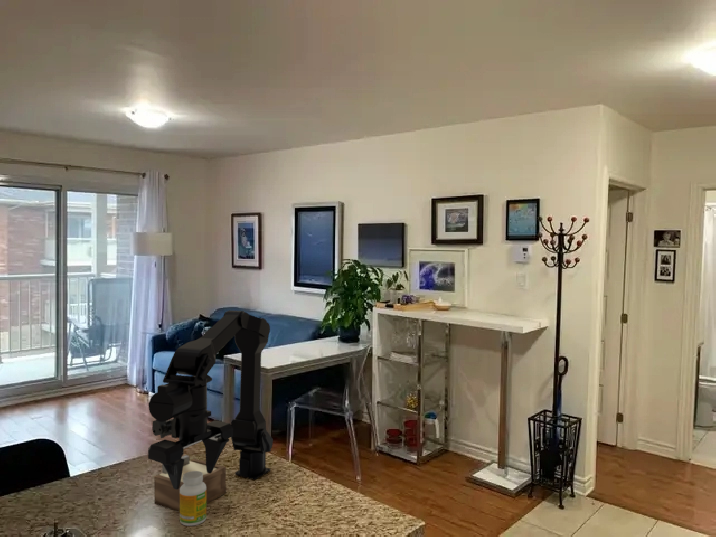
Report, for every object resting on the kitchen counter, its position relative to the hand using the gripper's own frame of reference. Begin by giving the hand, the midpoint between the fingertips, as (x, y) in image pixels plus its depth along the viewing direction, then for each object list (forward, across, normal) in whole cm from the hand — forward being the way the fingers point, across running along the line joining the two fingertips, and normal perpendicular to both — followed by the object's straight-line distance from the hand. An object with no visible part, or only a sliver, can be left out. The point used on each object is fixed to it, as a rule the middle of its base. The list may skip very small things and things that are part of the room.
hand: (193, 480), depth 116 cm
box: (+8, -7, -8) cm, 13 cm away
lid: (+3, -7, -9) cm, 12 cm away
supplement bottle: (+9, 0, 0) cm, 9 cm away
